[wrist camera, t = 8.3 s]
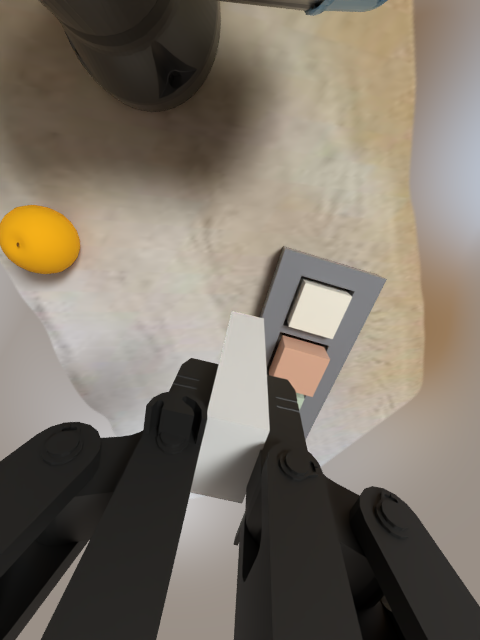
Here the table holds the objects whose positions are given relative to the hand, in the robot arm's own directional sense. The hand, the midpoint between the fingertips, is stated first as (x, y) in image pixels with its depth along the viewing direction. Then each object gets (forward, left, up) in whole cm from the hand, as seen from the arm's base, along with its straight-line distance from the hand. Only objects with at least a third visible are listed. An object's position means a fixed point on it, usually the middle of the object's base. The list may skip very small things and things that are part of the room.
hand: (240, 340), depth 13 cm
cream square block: (+3, +10, -24) cm, 26 cm away
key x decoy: (+11, +10, -22) cm, 27 cm away
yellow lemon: (+5, -25, -25) cm, 36 cm away
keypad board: (+11, +10, -24) cm, 29 cm away
